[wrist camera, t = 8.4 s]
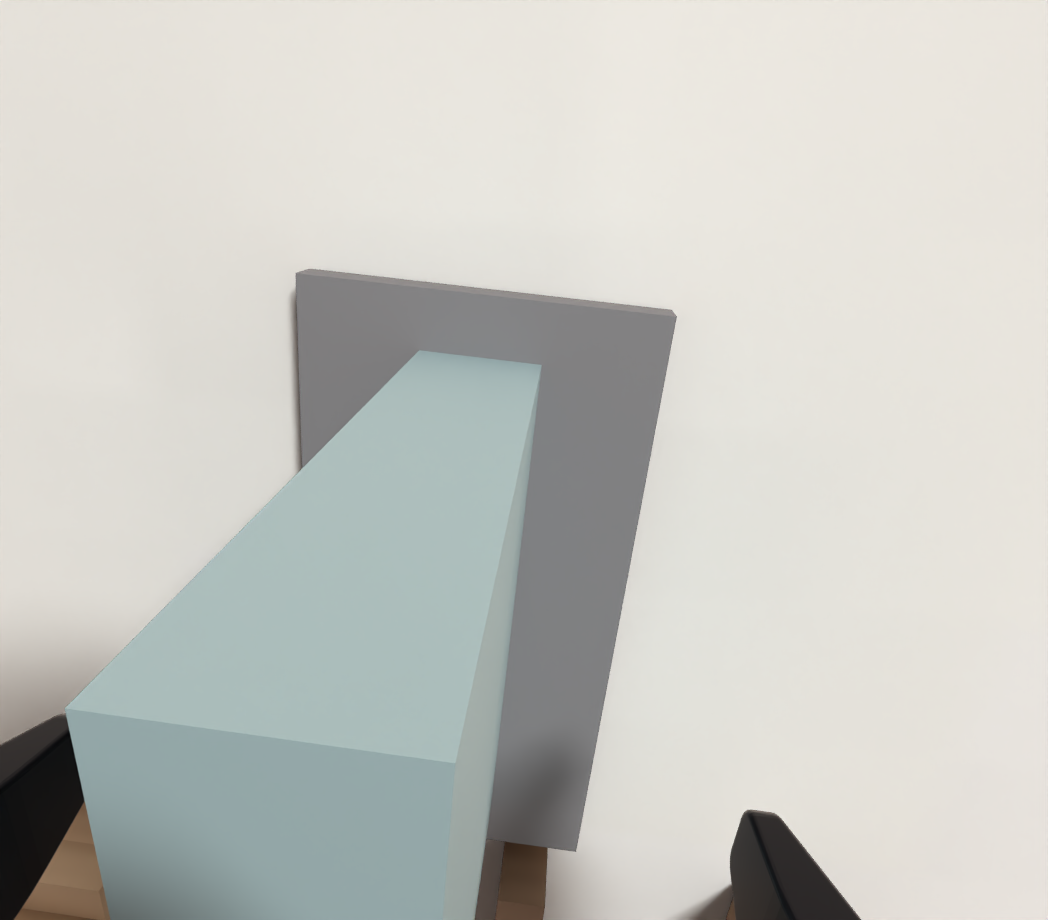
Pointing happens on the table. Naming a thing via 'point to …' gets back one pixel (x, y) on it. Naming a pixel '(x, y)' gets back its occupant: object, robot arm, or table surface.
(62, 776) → the robot arm
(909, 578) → the table surface
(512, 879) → the walnut rack
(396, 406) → the grey-green rectangular slab
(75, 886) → the offcut stack
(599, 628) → the rubber mat
